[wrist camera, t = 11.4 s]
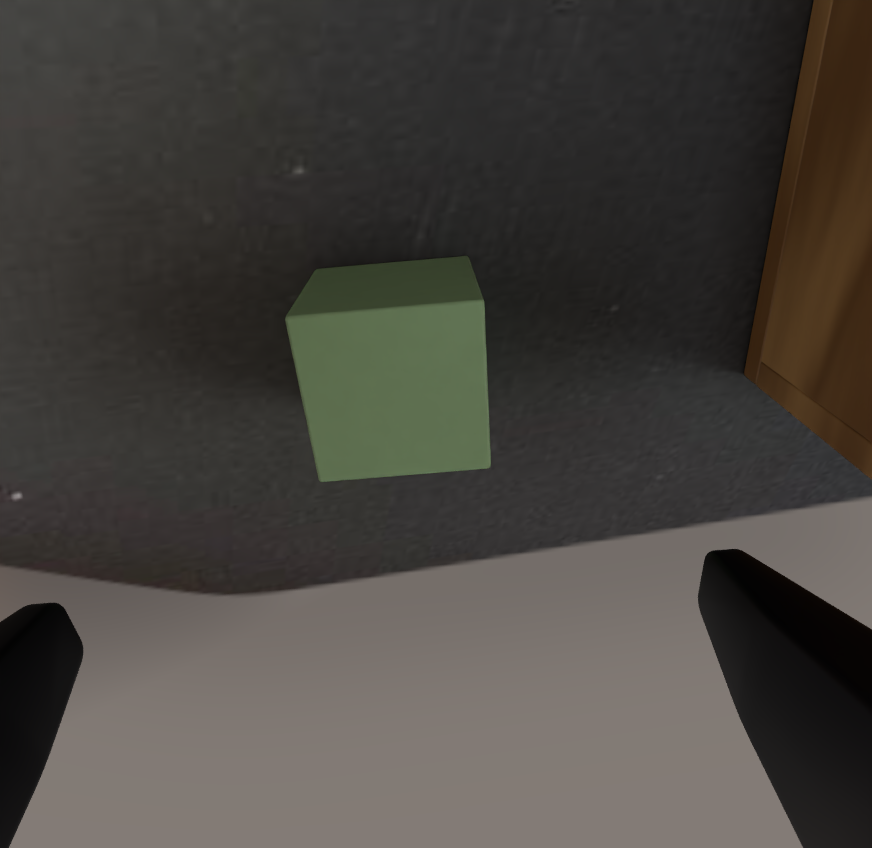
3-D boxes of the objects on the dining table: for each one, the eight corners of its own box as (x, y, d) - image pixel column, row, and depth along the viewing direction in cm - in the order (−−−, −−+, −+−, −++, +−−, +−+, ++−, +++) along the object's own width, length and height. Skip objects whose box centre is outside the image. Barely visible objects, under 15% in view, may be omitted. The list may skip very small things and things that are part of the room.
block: (476, 394, 19) (491, 469, 15) (338, 406, 19) (318, 483, 15) (468, 254, 17) (484, 299, 13) (314, 268, 17) (283, 316, 13)
